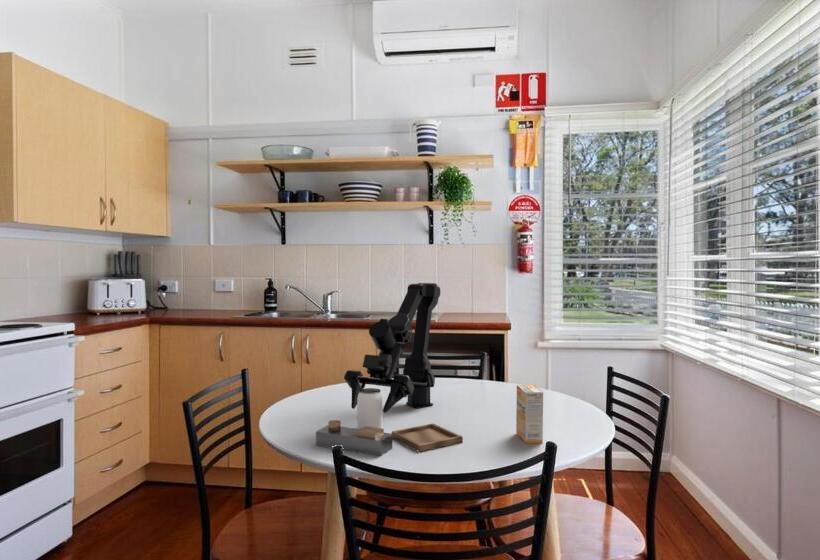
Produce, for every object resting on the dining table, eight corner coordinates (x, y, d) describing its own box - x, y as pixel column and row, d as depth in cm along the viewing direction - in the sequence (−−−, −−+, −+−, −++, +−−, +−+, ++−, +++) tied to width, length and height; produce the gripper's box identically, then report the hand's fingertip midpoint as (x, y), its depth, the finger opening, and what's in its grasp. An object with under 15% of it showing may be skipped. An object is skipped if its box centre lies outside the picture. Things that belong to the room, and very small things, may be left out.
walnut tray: (432, 428, 145) (432, 423, 145) (462, 442, 134) (462, 436, 134) (391, 437, 138) (391, 431, 138) (419, 452, 127) (419, 445, 127)
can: (378, 441, 134) (378, 394, 134) (354, 439, 136) (354, 392, 135) (385, 433, 141) (385, 388, 140) (361, 431, 142) (361, 387, 142)
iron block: (315, 445, 131) (315, 423, 131) (329, 438, 137) (328, 416, 137) (381, 456, 124) (381, 432, 124) (392, 447, 130) (392, 425, 130)
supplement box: (515, 433, 141) (515, 384, 141) (533, 433, 142) (533, 383, 141) (524, 443, 133) (525, 391, 132) (543, 443, 133) (543, 391, 133)
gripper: (347, 340, 145) (325, 389, 136) (409, 344, 138) (391, 396, 128) (361, 364, 153) (341, 412, 143) (421, 369, 145) (404, 420, 136)
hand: (368, 410), depth 137 cm, fingers open, 9 cm apart
